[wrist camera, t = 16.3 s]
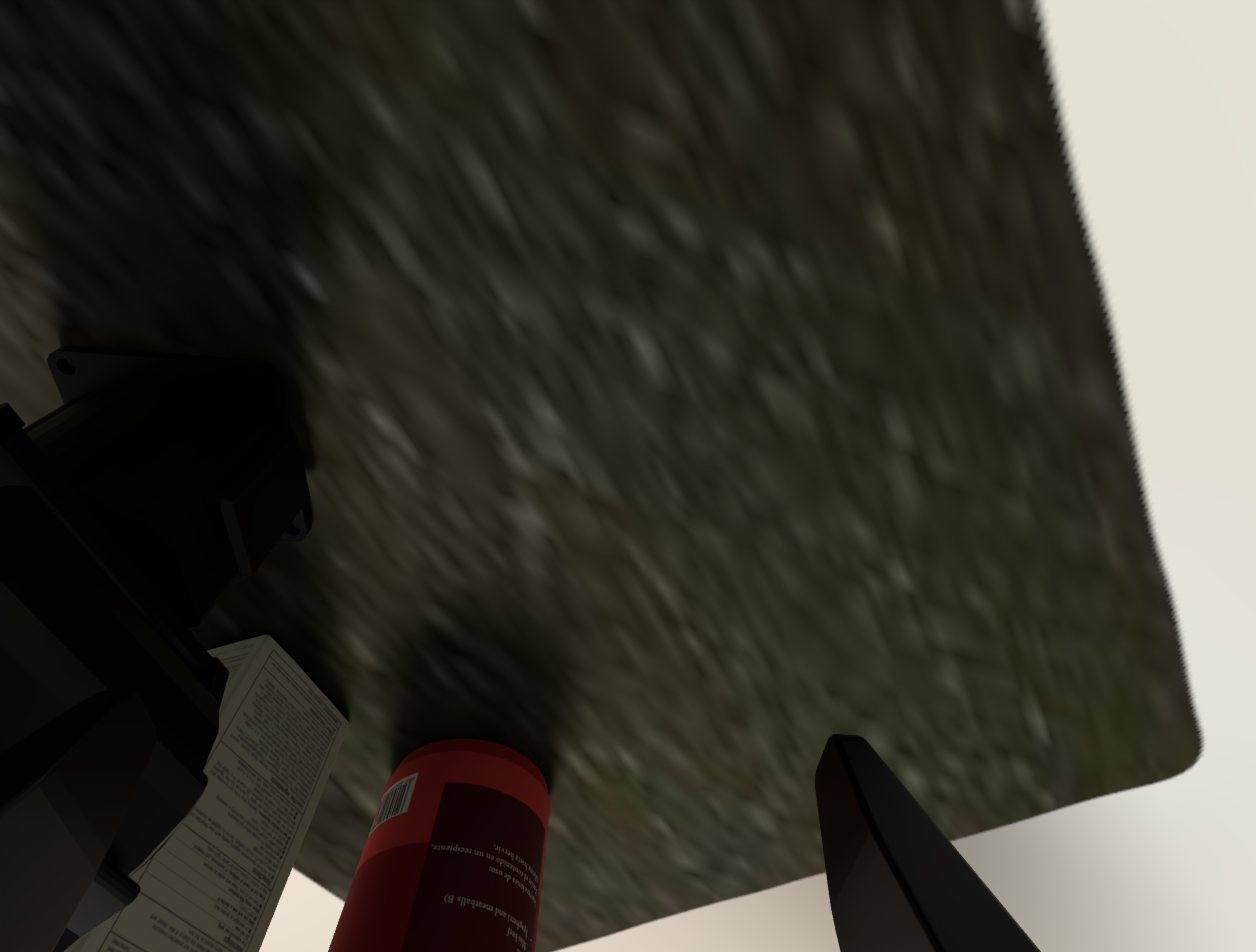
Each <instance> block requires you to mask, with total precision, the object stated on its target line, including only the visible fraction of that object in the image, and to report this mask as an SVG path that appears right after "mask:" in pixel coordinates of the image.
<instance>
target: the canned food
mask: <svg viewBox="0 0 1256 952" xmlns="http://www.w3.org/2000/svg"><path fill="white" fill-rule="evenodd" d="M549 813H550V801H549V795H548V790H547V785H546V782H545V779H544V776H543V775H542V773H541V772H540V770H539V769H538V767H536V766H535V765H534V764H533V763H532V762H531V761H530V760H529V759H528V758H526V757H525V756H523V755H522V754H520V753H519V752H517V751H515V750H513V749H511V748H509V747H506V746H504V745H501V744H498V743H494V742H491V741H486V740H479V739H467V738H457V739H447V740H442V741H437V742H433V743H429V744H427V745H425V746H422V747H420V748H417V749H416V750H414V751H413V752H411V753H410V754H409V755H407V756H406V757H405V758H404V760H403V761H402V762H401V763H400V764H399V766H398V767H397V768H396V770H395V771H394V773H393V774H392V775H391V777H390V779H389V781H388V783H387V785H386V787H385V790H384V793H383V796H382V798H381V801H380V804H379V807H378V810H377V813H376V816H375V819H374V821H373V824H372V827H371V830H370V833H369V836H368V839H367V841H366V844H365V847H364V850H363V853H362V856H361V859H360V862H359V864H358V867H357V870H356V873H355V876H354V879H353V882H352V884H351V887H350V890H349V893H348V896H347V899H346V902H345V905H344V907H343V910H342V913H341V916H340V919H339V922H338V925H337V927H336V931H335V933H334V936H333V939H332V942H331V945H330V947H329V950H328V952H534V951H535V942H536V933H537V924H538V915H539V905H540V896H541V887H542V878H543V869H544V859H545V850H546V841H547V832H548V823H549Z"/></svg>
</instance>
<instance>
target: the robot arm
mask: <svg viewBox="0 0 1256 952" xmlns="http://www.w3.org/2000/svg"><path fill="white" fill-rule="evenodd" d="M67 360H68V361H70V362H71V363H72V364H73V365H74V367H75V368H73V367H72V366H70V365H69V363H68V362H67ZM47 361H48V366H49V368H50V370H51V373H52V375H53V378H54V380H55V382H56V385H57V387H58V390H59V392H60V394H61V397H62V399H63V402H64V405H63V406H61V407H59V408H58V409H56V410H54V411H53V412H51V413H49V414H48V415H46V416H44V417H43V418H41V419H39V420H38V421H36V422H34V423H33V424H31V425H29V426H28V427H26V428H24V429H22V427H23V426H24V425H25V423H24V422H23V421H22V420H21V418H20V417H19V416H18V415H17V413H16V412H15V411H14V410H13V409H12V407H11V406H10V405H9V404H8V403H3V404H0V952H64V951H65V950H66V949H67V948H69V947H70V946H71V945H72V944H73V943H74V942H76V941H77V940H78V939H79V938H80V937H82V936H83V935H85V934H86V933H88V932H89V931H91V930H92V929H94V928H95V927H97V926H98V925H100V924H101V923H103V922H104V921H106V920H107V919H109V918H110V917H112V916H113V915H115V914H116V913H117V912H119V911H120V910H122V909H123V908H125V907H126V906H128V905H129V904H131V903H132V902H133V901H134V900H135V899H136V898H137V896H138V894H139V893H140V889H141V887H140V885H139V884H138V883H136V882H135V881H134V880H133V879H132V878H130V876H132V875H133V874H134V873H135V872H137V871H138V870H139V869H140V868H142V867H143V866H144V865H145V864H146V863H147V862H148V861H149V860H150V859H151V858H152V857H153V856H154V855H155V854H156V853H157V852H158V851H159V850H160V849H161V848H162V847H163V846H164V845H165V844H166V843H167V841H168V840H169V839H170V837H171V836H172V835H173V834H174V832H175V831H176V830H177V829H178V827H179V826H180V825H181V824H182V823H183V822H184V820H185V819H186V818H187V816H188V815H189V813H190V812H191V811H192V809H193V808H194V806H195V805H196V804H197V802H198V801H199V799H200V798H201V796H202V795H203V793H204V791H205V788H206V786H207V784H208V776H207V775H206V774H205V773H204V772H203V770H204V767H205V765H206V762H207V760H208V757H209V755H210V752H211V750H212V747H213V745H214V742H215V740H216V737H217V735H218V732H219V710H220V706H221V702H222V698H223V695H224V691H225V687H226V683H227V680H228V676H229V670H228V669H227V668H226V667H225V665H224V664H223V663H222V662H221V661H220V659H219V658H217V657H212V656H211V655H210V654H209V653H208V651H207V650H206V649H205V648H204V647H203V645H202V644H201V643H200V642H199V641H198V639H197V638H196V637H195V636H194V635H193V633H192V632H191V631H190V630H189V629H188V627H197V626H198V625H199V624H200V623H201V622H202V621H203V620H204V618H205V617H206V616H207V614H208V613H209V612H210V610H211V609H212V608H213V607H214V605H215V604H216V603H217V601H218V600H219V599H220V598H221V596H222V595H223V594H224V592H225V591H226V590H227V589H228V587H229V586H230V585H231V583H232V582H233V581H234V579H247V578H248V577H249V576H250V575H252V574H253V573H254V572H255V571H256V569H257V568H258V567H259V565H260V564H261V563H262V561H263V560H264V559H265V557H266V556H267V555H268V553H269V552H270V551H271V549H272V548H273V546H274V545H275V544H276V542H277V541H278V540H285V541H300V540H302V539H304V538H305V537H306V535H307V534H308V533H309V531H310V530H311V528H312V523H311V518H310V514H309V509H308V505H307V501H308V500H309V498H310V494H309V489H308V484H307V480H306V475H305V470H304V466H303V461H302V457H301V452H300V447H299V443H298V438H297V434H296V433H295V432H294V431H293V429H292V428H291V427H290V423H289V418H288V414H287V409H286V404H285V400H284V395H283V391H282V386H281V382H280V377H279V375H278V372H277V371H276V369H275V368H274V367H273V366H272V365H270V364H269V363H267V362H264V361H260V360H250V359H237V358H224V357H211V356H198V355H184V354H171V353H158V352H145V351H132V350H118V349H105V348H92V347H79V346H63V347H61V348H59V349H57V350H55V351H53V352H52V353H50V354H49V356H48V359H47ZM254 373H256V374H259V375H260V376H262V377H263V379H264V381H265V384H264V383H261V382H259V381H258V380H257V379H256V378H255V376H254ZM291 524H295V525H296V526H297V527H298V528H299V529H298V528H294V527H293V526H292V525H291ZM815 790H816V798H817V806H818V814H819V821H820V829H821V837H822V844H823V852H824V860H825V867H826V875H827V883H828V890H829V897H830V904H831V910H832V915H833V920H834V924H835V930H836V934H837V938H838V943H839V947H840V951H841V952H1041V951H1040V950H1039V949H1038V948H1037V947H1036V945H1035V944H1034V943H1033V942H1032V940H1031V939H1030V938H1029V937H1028V935H1027V934H1026V933H1025V932H1024V931H1023V929H1022V928H1021V927H1020V926H1019V925H1018V923H1017V922H1016V921H1015V920H1014V919H1013V917H1012V916H1011V915H1010V914H1009V913H1008V911H1007V910H1006V909H1005V908H1004V907H1003V905H1002V904H1001V903H1000V902H999V900H998V899H997V898H996V897H995V896H994V894H993V893H992V892H991V891H990V889H989V888H988V887H987V886H986V885H985V884H984V882H983V881H982V880H981V879H980V878H979V877H978V875H977V874H976V873H975V871H974V870H973V869H972V868H971V867H970V865H969V864H968V863H967V862H966V860H965V859H964V858H963V857H962V856H961V854H959V852H958V851H957V850H956V848H955V847H954V846H953V845H952V844H951V842H950V841H949V840H948V839H947V837H946V836H945V835H944V834H943V833H942V831H941V830H940V829H939V828H938V827H937V825H936V824H935V823H934V822H933V821H932V819H931V818H930V817H929V816H928V814H927V813H926V812H925V811H924V810H923V808H922V807H921V806H920V805H919V804H918V802H917V801H916V800H915V799H914V798H913V796H912V795H911V794H910V793H909V792H908V790H907V789H906V788H905V787H904V785H903V784H902V783H901V782H900V781H899V779H898V778H897V777H896V776H895V775H894V773H893V772H892V771H891V770H890V769H889V767H888V766H887V765H886V764H885V762H884V761H883V760H882V759H881V758H880V756H879V755H878V754H877V753H876V752H875V750H874V749H873V748H872V747H871V746H870V744H869V743H868V742H867V741H866V740H865V739H864V738H862V737H860V736H857V735H843V734H833V735H832V736H830V737H829V739H828V741H827V743H826V746H825V748H824V751H823V754H822V756H821V759H820V762H819V764H818V767H817V770H816V774H815Z"/></svg>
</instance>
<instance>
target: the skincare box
mask: <svg viewBox="0 0 1256 952" xmlns="http://www.w3.org/2000/svg"><path fill="white" fill-rule="evenodd" d="M207 651H208V653H209V654H210V655H211V656H212V657H217V658H219V659H220V661H221V662H222V663H223V664H224V665H225V667H226V668H227V669H228V670H229V676H228V680H227V683H226V687H225V691H224V695H223V698H222V702H221V706H220V710H219V732H218V735H217V737H216V740H215V742H214V745H213V747H212V750H211V752H210V755H209V757H208V760H207V762H206V765H205V767H204V770H203V772H204V773H205V774H206V775H207V776H208V784H207V786H206V788H205V791H204V793H203V795H202V796H201V798H200V799H199V801H198V802H197V804H196V805H195V806H194V808H193V809H192V811H191V812H190V813H189V815H188V816H187V818H186V819H185V820H184V822H183V823H182V824H181V825H180V826H179V827H178V829H177V830H176V831H175V832H174V834H173V835H172V836H171V837H170V839H169V840H168V841H167V843H166V844H165V845H164V846H163V847H162V848H161V849H160V850H159V851H158V852H157V853H156V854H155V855H154V856H153V857H152V858H151V859H150V860H149V861H148V862H147V863H146V864H145V865H144V866H143V867H142V868H140V869H139V870H138V871H137V872H135V873H134V874H133V875H132V876H130V878H132V879H133V880H134V881H135V882H136V883H138V884H139V885H140V887H141V889H140V893H139V894H138V896H137V898H136V899H135V900H134V901H133V902H132V903H131V904H129V905H128V906H126V907H125V908H123V909H122V910H120V911H119V912H117V913H116V914H115V915H113V916H112V917H110V918H109V919H107V920H106V921H104V922H103V923H101V924H100V925H98V926H97V927H95V928H94V929H92V930H91V931H89V932H88V933H86V934H85V935H83V936H82V937H80V938H79V939H78V940H77V941H76V942H74V943H73V944H72V945H71V946H70V947H69V948H67V949H66V950H65V951H64V952H259V950H260V947H261V945H262V942H263V939H264V937H265V934H266V932H267V929H268V927H269V925H270V922H271V920H272V917H273V915H274V912H275V910H276V907H277V904H278V902H279V899H280V897H281V894H282V892H283V890H284V887H285V884H286V882H287V880H288V877H289V875H290V872H291V870H292V867H293V864H294V862H295V859H296V857H297V854H298V852H299V849H300V847H301V844H302V842H303V839H304V837H305V834H306V832H307V829H308V827H309V824H310V822H311V819H312V817H313V814H314V812H315V809H316V807H317V804H318V802H319V799H320V797H321V794H322V792H323V789H324V787H325V784H326V782H327V779H328V777H329V774H330V772H331V769H332V767H333V764H334V762H335V759H336V757H337V754H338V752H339V749H340V747H341V744H342V742H343V739H344V737H345V734H346V731H347V729H348V726H349V722H348V721H347V720H346V719H345V717H344V716H343V715H342V714H341V713H340V712H339V711H338V709H337V708H336V707H335V706H334V705H333V704H332V702H331V701H330V700H329V699H328V698H327V697H326V696H325V695H324V693H323V692H322V691H321V690H320V689H319V688H318V687H317V686H316V685H315V684H314V683H313V682H312V680H311V679H310V678H309V677H308V676H307V675H306V674H305V672H304V671H303V670H302V669H301V668H300V667H299V665H298V664H297V663H296V662H295V661H294V660H293V659H292V658H291V657H290V656H289V655H288V654H287V653H286V652H285V651H284V650H283V649H282V648H281V647H280V646H279V645H278V644H277V642H276V641H275V640H274V639H273V638H272V637H271V636H270V635H261V636H258V637H255V638H251V639H247V640H243V641H239V642H236V643H232V644H229V645H225V646H221V647H218V648H214V649H211V650H207Z"/></svg>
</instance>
